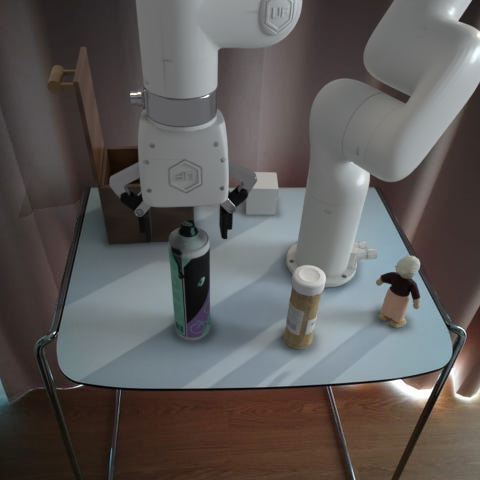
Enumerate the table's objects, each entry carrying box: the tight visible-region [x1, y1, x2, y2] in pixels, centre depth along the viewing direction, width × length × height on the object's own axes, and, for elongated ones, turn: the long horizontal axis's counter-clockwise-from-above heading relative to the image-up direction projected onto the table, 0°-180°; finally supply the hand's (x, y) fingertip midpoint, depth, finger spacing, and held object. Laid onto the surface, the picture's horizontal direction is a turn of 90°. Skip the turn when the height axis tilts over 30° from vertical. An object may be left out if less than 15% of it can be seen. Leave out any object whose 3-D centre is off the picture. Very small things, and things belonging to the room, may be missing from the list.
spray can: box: [167, 220, 211, 342], centre depth 70 cm, size 6×6×20 cm
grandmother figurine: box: [375, 255, 421, 329], centre depth 76 cm, size 8×4×13 cm, turn 58°
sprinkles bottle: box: [283, 265, 326, 350], centre depth 72 cm, size 5×5×14 cm
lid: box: [46, 46, 105, 186], centre depth 80 cm, size 17×14×5 cm
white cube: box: [244, 171, 280, 216], centre depth 99 cm, size 6×6×6 cm
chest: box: [97, 145, 195, 245], centre depth 92 cm, size 16×14×12 cm
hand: (186, 234), depth 64 cm, fingers open, 9 cm apart
